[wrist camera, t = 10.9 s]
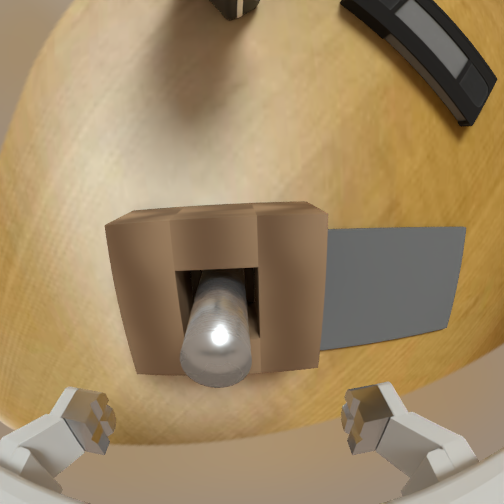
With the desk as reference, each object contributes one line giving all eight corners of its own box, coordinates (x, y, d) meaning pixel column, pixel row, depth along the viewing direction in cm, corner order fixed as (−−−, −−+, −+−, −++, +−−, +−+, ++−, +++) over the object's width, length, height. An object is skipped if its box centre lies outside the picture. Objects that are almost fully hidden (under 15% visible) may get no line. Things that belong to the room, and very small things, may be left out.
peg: (243, 254, 21) (250, 330, 11) (245, 293, 22) (252, 386, 12) (200, 256, 21) (174, 332, 11) (204, 295, 22) (185, 387, 12)
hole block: (306, 201, 20) (328, 213, 15) (302, 329, 23) (317, 367, 18) (133, 210, 20) (104, 225, 15) (153, 335, 22) (137, 373, 18)
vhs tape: (457, 127, 19) (471, 126, 17) (336, 5, 16) (345, -6, 14) (484, 81, 18) (497, 79, 16) (379, -29, 15) (388, -39, 13)
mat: (463, 226, 21) (466, 227, 21) (444, 326, 24) (446, 327, 24) (319, 229, 21) (321, 230, 20) (313, 348, 24) (314, 350, 23)
